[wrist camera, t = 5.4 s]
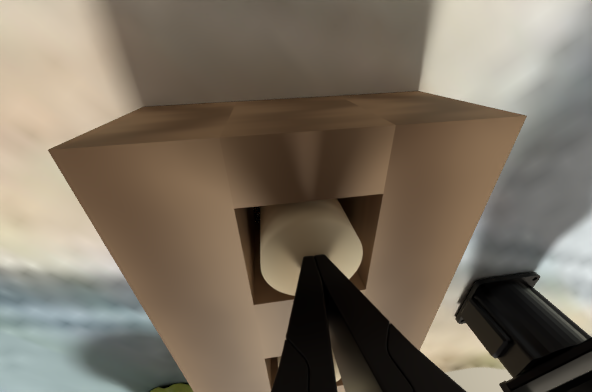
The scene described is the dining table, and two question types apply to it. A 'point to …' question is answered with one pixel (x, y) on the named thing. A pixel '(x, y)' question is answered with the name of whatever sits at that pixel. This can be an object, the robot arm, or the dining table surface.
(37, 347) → the dining table surface
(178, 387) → the plant pot
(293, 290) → the peg near
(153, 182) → the jig block
